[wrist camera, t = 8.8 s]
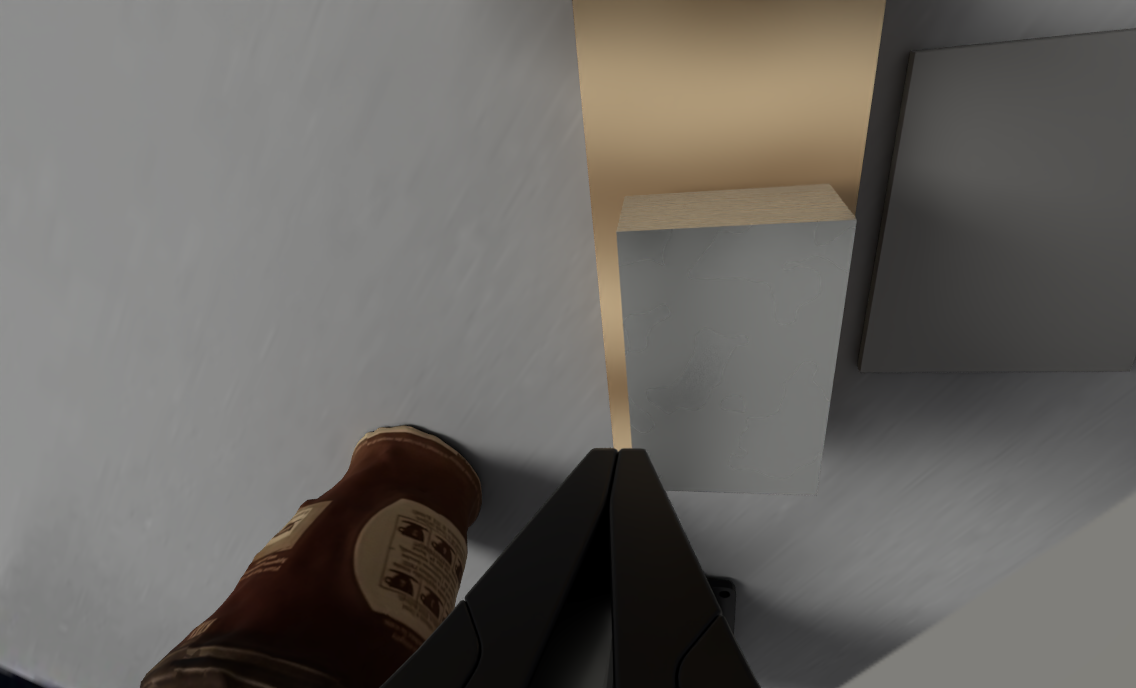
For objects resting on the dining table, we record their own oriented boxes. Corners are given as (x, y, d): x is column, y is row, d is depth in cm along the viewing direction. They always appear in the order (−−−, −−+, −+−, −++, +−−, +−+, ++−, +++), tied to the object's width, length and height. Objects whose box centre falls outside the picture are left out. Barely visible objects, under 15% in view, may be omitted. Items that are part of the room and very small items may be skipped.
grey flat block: (799, 434, 18) (816, 495, 15) (639, 432, 18) (634, 489, 16) (829, 183, 14) (857, 219, 12) (625, 195, 15) (615, 231, 12)
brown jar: (470, 389, 24) (296, 732, 13) (537, 529, 28) (446, 885, 17) (299, 420, 26) (31, 729, 15) (381, 544, 30) (214, 863, 19)
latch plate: (806, 411, 22) (833, 500, 18) (619, 409, 23) (608, 492, 19) (879, -188, 13) (960, -257, 9) (575, -134, 15) (539, -177, 11)
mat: (1121, 364, 19) (1129, 371, 19) (857, 366, 20) (860, 372, 20) (1276, 14, 14) (1291, 14, 14) (910, 51, 15) (915, 52, 15)
